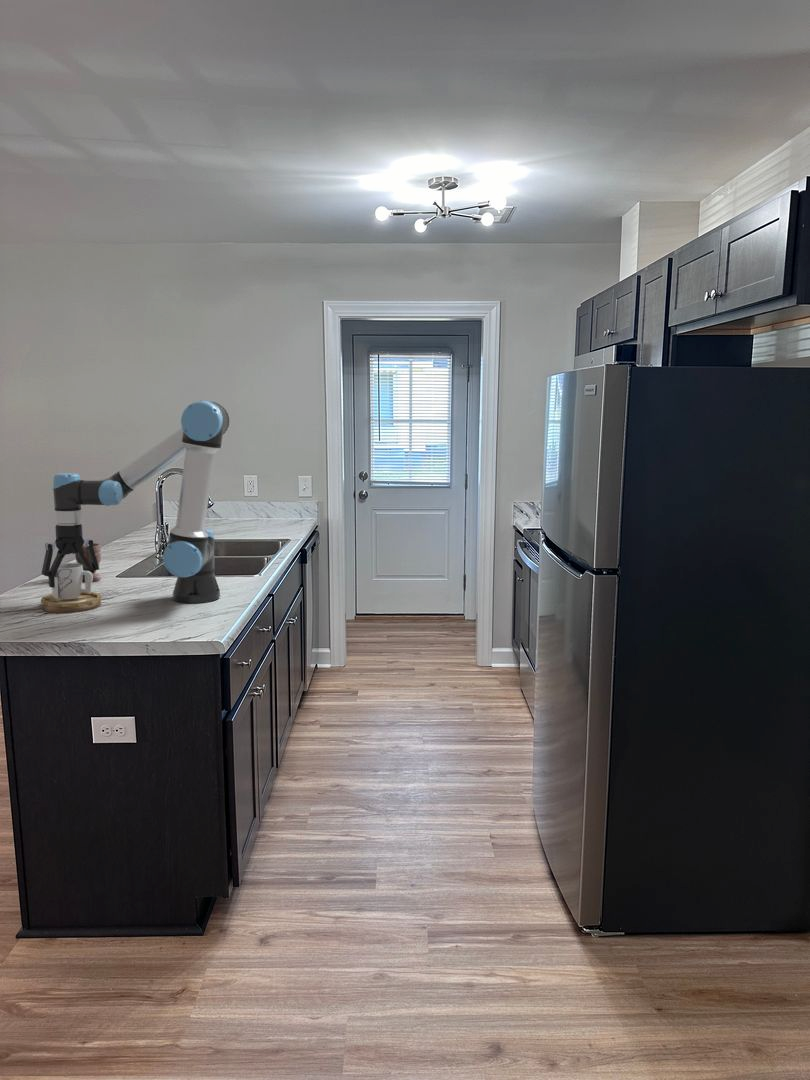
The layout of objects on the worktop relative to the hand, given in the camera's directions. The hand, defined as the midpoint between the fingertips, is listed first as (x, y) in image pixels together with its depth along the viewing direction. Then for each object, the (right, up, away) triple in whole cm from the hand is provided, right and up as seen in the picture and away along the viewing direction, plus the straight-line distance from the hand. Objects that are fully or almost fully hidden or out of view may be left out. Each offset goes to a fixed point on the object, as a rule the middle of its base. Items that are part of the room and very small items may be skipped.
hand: (72, 595), depth 238 cm
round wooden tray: (0, -3, +1) cm, 4 cm away
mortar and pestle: (-11, +2, +36) cm, 38 cm away
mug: (+1, -1, 0) cm, 1 cm away
